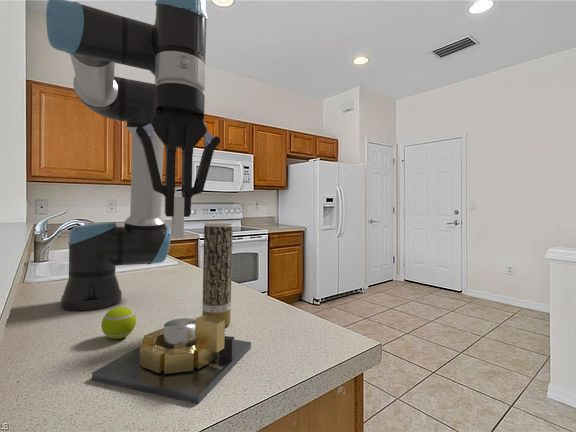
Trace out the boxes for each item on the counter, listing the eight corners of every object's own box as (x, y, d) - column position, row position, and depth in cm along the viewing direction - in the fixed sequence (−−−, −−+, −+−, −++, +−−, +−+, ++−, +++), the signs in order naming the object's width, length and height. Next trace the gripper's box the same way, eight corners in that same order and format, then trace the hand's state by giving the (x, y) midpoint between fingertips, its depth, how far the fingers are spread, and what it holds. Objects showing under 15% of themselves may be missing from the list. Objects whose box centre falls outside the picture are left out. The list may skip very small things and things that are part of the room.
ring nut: (124, 359, 57) (125, 315, 57) (182, 334, 69) (183, 297, 68) (191, 386, 49) (192, 335, 49) (243, 352, 61) (244, 311, 61)
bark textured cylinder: (235, 322, 81) (237, 223, 80) (221, 332, 74) (223, 225, 74) (212, 318, 83) (214, 222, 82) (196, 327, 77) (198, 223, 76)
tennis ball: (137, 340, 69) (138, 309, 68) (101, 346, 65) (102, 314, 65) (134, 329, 74) (134, 301, 74) (100, 335, 71) (101, 305, 71)
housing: (91, 379, 53) (92, 336, 53) (168, 334, 72) (169, 303, 72) (198, 403, 47) (199, 355, 47) (251, 347, 66) (251, 313, 66)
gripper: (135, 72, 44) (133, 240, 45) (227, 90, 50) (223, 239, 51) (134, 88, 51) (131, 235, 52) (215, 103, 57) (211, 234, 58)
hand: (177, 237), depth 51 cm, fingers closed
